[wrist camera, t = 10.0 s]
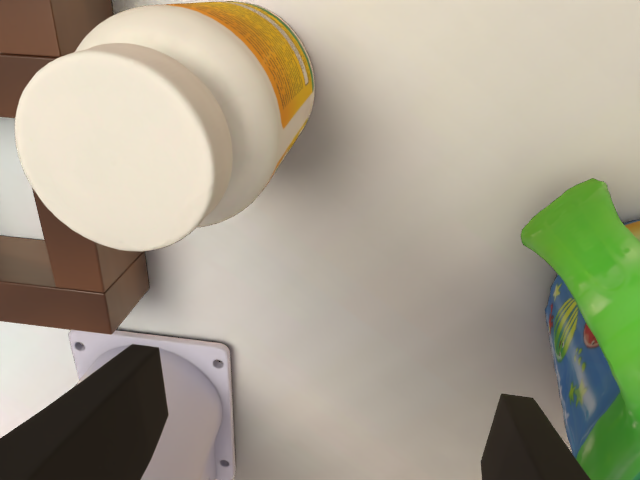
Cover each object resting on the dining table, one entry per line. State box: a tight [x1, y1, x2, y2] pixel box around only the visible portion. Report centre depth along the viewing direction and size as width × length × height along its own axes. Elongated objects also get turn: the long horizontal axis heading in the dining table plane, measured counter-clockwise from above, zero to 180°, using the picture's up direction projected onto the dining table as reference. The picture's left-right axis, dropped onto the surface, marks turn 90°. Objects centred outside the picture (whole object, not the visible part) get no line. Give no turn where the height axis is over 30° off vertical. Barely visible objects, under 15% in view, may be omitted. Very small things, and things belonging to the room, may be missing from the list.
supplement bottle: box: [15, 1, 315, 251], centre depth 14 cm, size 5×5×10 cm
